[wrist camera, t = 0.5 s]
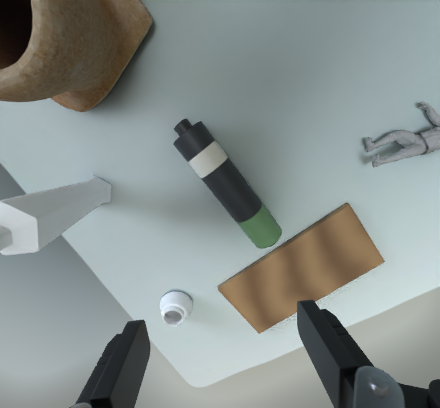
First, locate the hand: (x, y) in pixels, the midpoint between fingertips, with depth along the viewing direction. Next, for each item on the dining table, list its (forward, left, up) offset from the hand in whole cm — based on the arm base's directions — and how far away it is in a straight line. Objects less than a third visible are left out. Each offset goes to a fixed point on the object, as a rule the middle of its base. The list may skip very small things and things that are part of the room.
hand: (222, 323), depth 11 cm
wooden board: (-3, +15, -19) cm, 24 cm away
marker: (-3, -2, -19) cm, 19 cm away
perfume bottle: (+11, -12, -19) cm, 25 cm away
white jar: (+15, +8, -19) cm, 25 cm away
